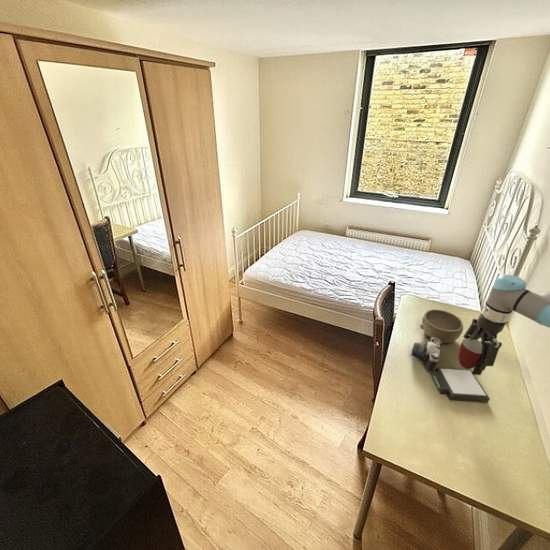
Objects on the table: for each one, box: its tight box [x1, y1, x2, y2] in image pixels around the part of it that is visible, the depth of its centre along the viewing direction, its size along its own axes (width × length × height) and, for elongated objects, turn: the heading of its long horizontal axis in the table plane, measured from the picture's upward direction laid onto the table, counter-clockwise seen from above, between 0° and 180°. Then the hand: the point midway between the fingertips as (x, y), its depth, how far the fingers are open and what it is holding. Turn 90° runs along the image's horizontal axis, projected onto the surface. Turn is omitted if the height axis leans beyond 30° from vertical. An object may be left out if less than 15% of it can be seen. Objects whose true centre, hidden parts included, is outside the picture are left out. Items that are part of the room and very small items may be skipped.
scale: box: [431, 367, 491, 404], centre depth 116 cm, size 14×17×3 cm
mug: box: [457, 338, 488, 370], centre depth 108 cm, size 10×8×10 cm
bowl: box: [419, 308, 464, 344], centre depth 141 cm, size 17×18×10 cm
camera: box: [411, 337, 443, 374], centre depth 127 cm, size 16×10×10 cm, turn 153°
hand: (470, 365), depth 110 cm, fingers closed on mug, 8 cm apart
